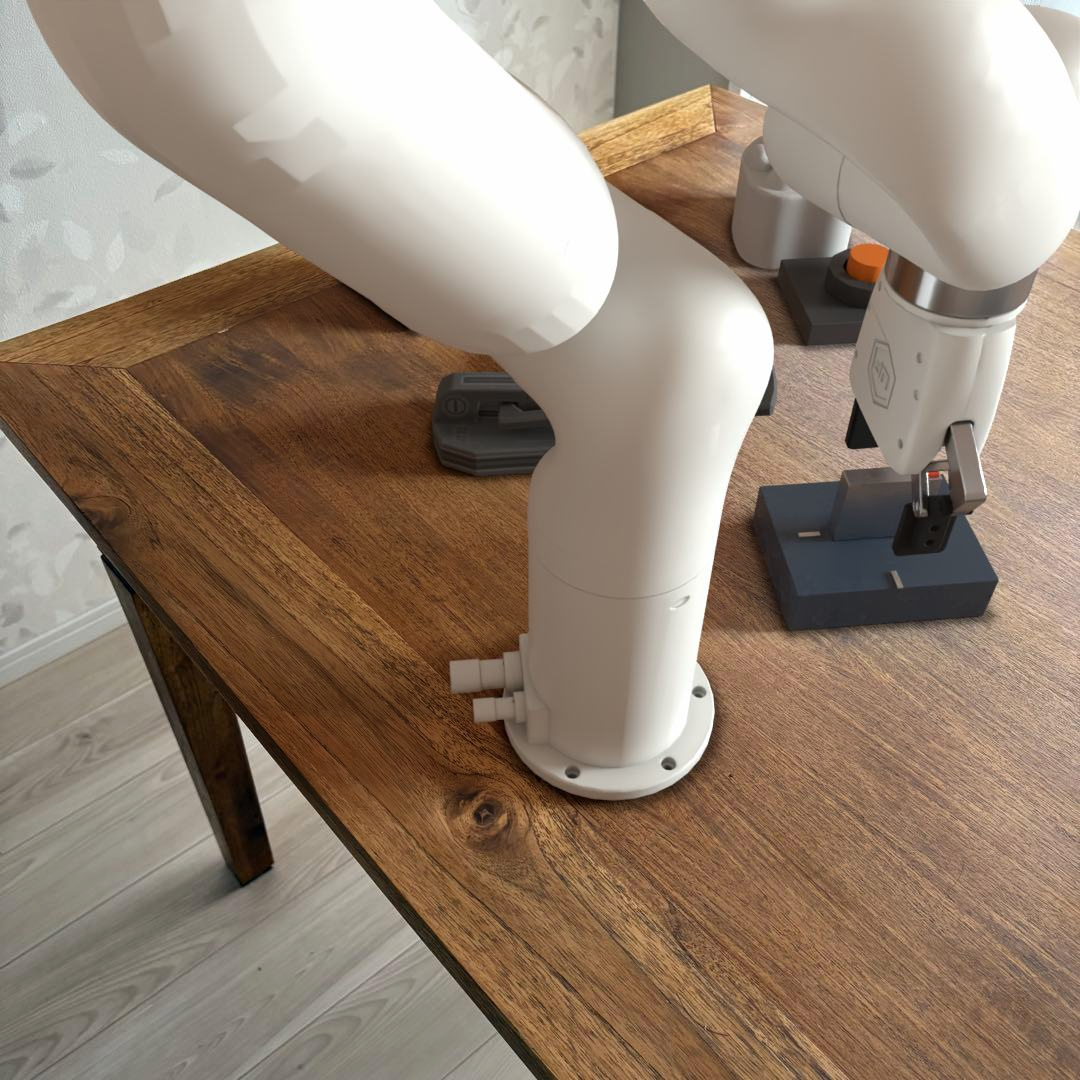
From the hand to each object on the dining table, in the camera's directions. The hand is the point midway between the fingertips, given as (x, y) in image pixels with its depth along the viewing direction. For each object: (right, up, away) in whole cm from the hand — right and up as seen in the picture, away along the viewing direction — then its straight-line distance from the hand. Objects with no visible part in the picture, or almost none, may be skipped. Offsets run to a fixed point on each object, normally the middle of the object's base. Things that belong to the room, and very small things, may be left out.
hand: (891, 495), depth 71 cm
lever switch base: (-1, -5, +4) cm, 6 cm away
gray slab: (-1, -2, +2) cm, 3 cm away
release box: (+5, +17, +26) cm, 32 cm away
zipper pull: (-18, +5, +14) cm, 23 cm away
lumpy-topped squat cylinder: (+1, +26, +35) cm, 44 cm away
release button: (+5, +20, +23) cm, 31 cm away
